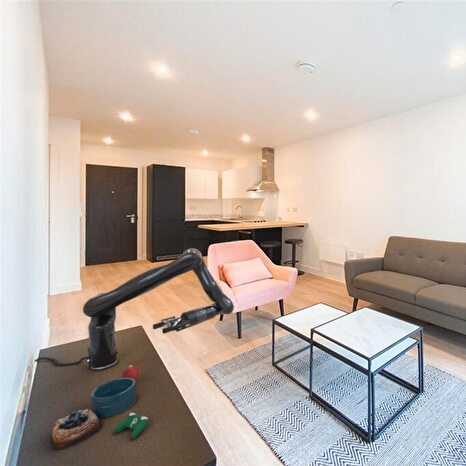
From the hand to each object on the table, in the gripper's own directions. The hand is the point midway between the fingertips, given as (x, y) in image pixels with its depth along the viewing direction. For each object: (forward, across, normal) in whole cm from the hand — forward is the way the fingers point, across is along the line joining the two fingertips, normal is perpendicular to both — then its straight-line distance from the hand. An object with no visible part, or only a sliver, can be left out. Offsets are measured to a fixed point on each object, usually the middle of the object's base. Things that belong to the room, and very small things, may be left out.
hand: (157, 329), depth 127 cm
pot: (+20, +10, +19) cm, 30 cm away
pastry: (+32, +16, +20) cm, 41 cm away
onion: (+11, 0, +20) cm, 22 cm away
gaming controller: (+22, +30, +20) cm, 42 cm away
